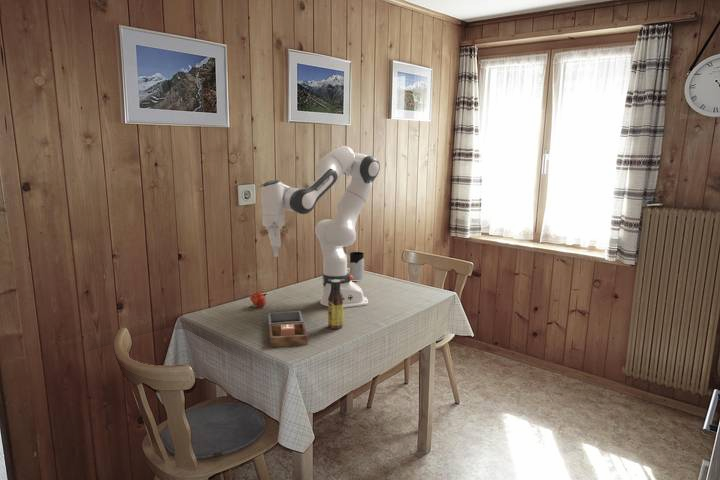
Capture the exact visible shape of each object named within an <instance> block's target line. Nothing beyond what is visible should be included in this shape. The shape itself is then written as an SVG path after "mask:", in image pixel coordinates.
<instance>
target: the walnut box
mask: <svg viewBox="0 0 720 480" xmlns="http://www.w3.org/2000/svg"><path fill="white" fill-rule="evenodd" d="M281 325H286V324H280V325H269V324H268V329H269V330H270V332H269V343H270V348H274V347H275V348H276V346H277V347H287V346H289V347H290V346H300V345H301V346H302V345H308V333H307V329H306V326H305V322H304V323H295V324H294V328H295V335H294V336H281ZM269 330H268V331H269ZM297 333H302V334H297ZM278 334H279V335H280V336H273V335H278Z"/></svg>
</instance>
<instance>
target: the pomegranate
mask: <svg viewBox="0 0 720 480" xmlns="http://www.w3.org/2000/svg"><path fill="white" fill-rule="evenodd" d="M266 296H267V293H262V292H254V293H252V294H251V296H250V298H249V299H250V301H251V302H252V304H251V305H250V306H249V308H251V307H253V306H255V307H256V308H257V309H261V308H264V306H265V305H266V302H267V298H266Z"/></svg>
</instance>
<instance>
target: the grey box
mask: <svg viewBox="0 0 720 480" xmlns="http://www.w3.org/2000/svg"><path fill="white" fill-rule="evenodd" d="M267 316H268V320H267V321H268V326H269V325H280V324H295V323H304V324H305V322H304V319H303V315H302V312H301V310H295V311H294V310H292V311H279V312H268V313H267ZM297 320H298V321H297ZM278 321H279V322H278ZM281 321H282V322H281ZM283 321H285V322H283ZM268 332H269V333H270V330H268Z"/></svg>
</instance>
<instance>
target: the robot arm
mask: <svg viewBox="0 0 720 480" xmlns="http://www.w3.org/2000/svg"><path fill="white" fill-rule="evenodd" d="M315 166H316V168H315V169H316V170H315V171H316V174H317V176H318V178H317V179H315V180H314V182H313V183H312V184H311V185H309V186H308V187H305V188H297V187H292V186H289V185H287V184H284V183H283V182H281V180H277V179H276V180H269V181H267V182H265V183H263V184H262V186H261V190H260V191H261V192H260V193H261V194H260V195H261V198H260V200H261V201H260V203H261V206H262V213H261V215H262V216H261V218H262V226H263V227H265V229H266V231H267V235H268V238H269V242H270V245H271V249H272V252H273V257H274V258H278V257H279V248H281V246H282V245H281V244H282V243H281V230H282V228H283V226H285V221H286V220H285V211H290V212H293V213H294V212H296V213H297V214H301V215H306V214H309V213H310V212H312V211H313V210H314V208H315V206H316V205H317V202H318V201H319V200H320V199H321V198H322V197H323V196H324V195H325V194H326V193H327V192H328V191H329V190H330V189H331V188H332V187H333V185H335V183H336V182H337V180H338V179H339V178H340V177H341V176H343V174H344V175H347V176H349V177H351V180H350V183H349V184H348V185H347V187H346V188H345V190H344V192H343V193H342V196H341V198H340V199H339V201H338V203H337V204H336V208H337V213H336V217H335V219H322V220H320V221H318V222H317V223H316V225H315V227H314V230H315V231H314V232H315V236H316V237H317V239H318V241H319V245H320V248H321V253H322V261H323V262H322V263H323V264H322V265H323V273H322V283H321V284H322V293H321V299H320V302H319V303H320V304H321V305H322V306H324V307H325V306H326V307H328V298H329V295H330V292H331V280H334V279H338V280H340V281H341V284H340V292H341V294H342V295H343V309H345V308H346V309H347V308H352V307H353V308H354V307H360V306H361V307H362V306H367V305H368V304H369V299H368V297H366V296H364V292H363V289H362V288H361V287H360V286H359V285H358V284H357V283H356V282H352V281H351V280H353V276H352V275H351V274H350V273H349V272H348V271H347V270H348V257H347V255H346V254H347V253H345V251H344V248H345V247H346V248H347V247H350V246H352V245H353V244H354V243H355V241H356V240H357V231H356V225H357V221H358V219H359V216H360V213H361V211H362V209H363V208H364V206H365V205H366V202H367V201H368V199H369V197H370V194H371V191H372V188H373V182H374V181H375V179H376V178H377V177H378V175H379V172H380V170H381V166H380V162H379V160H378V159H377V158H376V157H374V156H372V155H367V154H364V153H361V152H354V151H353V149H352V148H350V147H349V146H347V145H342V146H339V147H336V148H334V149H333V150H331V151H330V152H329V153H327V154H326V155H324V156H323V157H322V158H321V159H319V161H318V162H317V163H316V165H315Z"/></svg>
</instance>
